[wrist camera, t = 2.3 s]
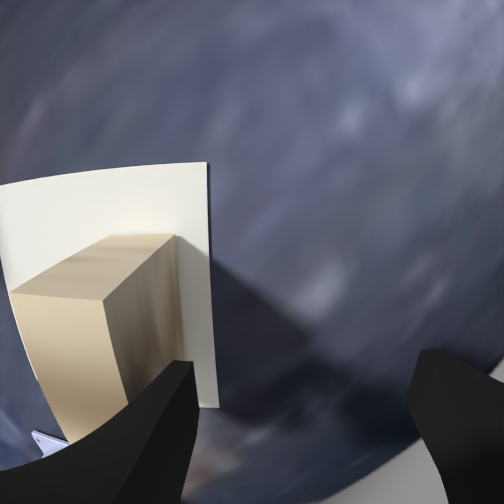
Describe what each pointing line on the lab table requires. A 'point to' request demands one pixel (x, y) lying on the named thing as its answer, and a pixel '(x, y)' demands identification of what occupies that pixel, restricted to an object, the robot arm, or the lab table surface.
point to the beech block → (102, 326)
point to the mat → (119, 223)
